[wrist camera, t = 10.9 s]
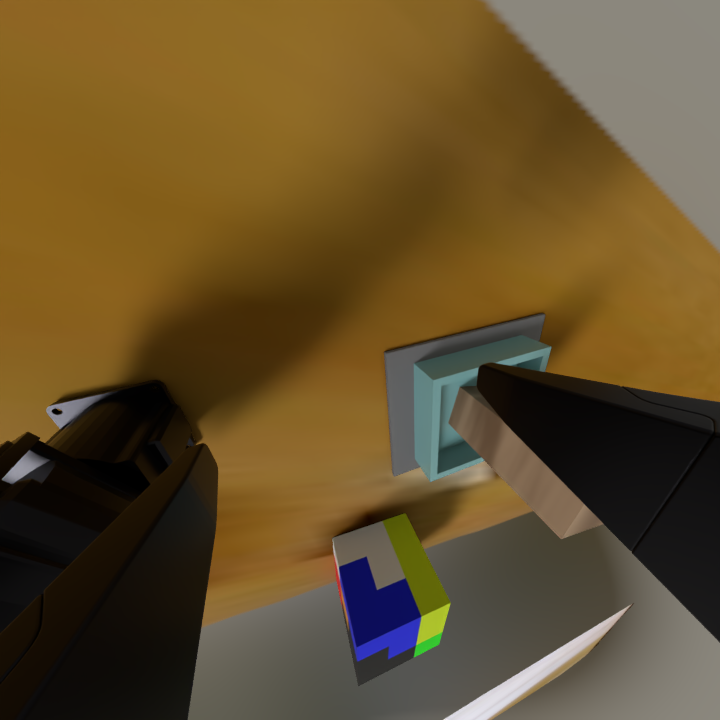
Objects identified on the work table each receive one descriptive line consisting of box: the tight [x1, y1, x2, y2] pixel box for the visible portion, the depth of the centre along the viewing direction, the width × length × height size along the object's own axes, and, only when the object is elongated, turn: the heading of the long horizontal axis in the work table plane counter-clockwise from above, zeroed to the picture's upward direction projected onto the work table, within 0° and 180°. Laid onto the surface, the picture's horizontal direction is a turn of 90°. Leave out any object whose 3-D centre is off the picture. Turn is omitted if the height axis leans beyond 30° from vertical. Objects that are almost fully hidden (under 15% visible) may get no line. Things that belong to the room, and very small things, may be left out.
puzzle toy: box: [332, 513, 450, 686], centre depth 31 cm, size 10×10×10 cm
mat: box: [384, 313, 545, 476], centre depth 29 cm, size 18×16×1 cm
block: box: [448, 386, 603, 539], centre depth 22 cm, size 4×4×12 cm
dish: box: [414, 335, 552, 482], centre depth 27 cm, size 13×13×3 cm
